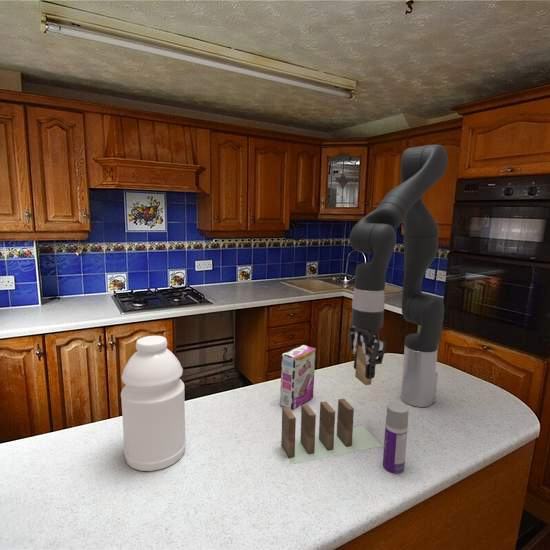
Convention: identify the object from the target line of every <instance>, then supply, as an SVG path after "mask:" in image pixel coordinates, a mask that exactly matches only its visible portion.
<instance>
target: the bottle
mask: <svg viewBox="0 0 550 550" xmlns="http://www.w3.org/2000/svg"><path fill="white" fill-rule="evenodd" d="M135 349H136V351H135V352H133V354H132V356H130V358H129V359H128V360H127V363H126V365H125V366H124V369H123V370H122V371H123V372H122V375H121V381H122V383H123V384H124V385H125V386H123V388H122V389H121V392H120V399H121V401H120V402H121V413H122V431H123V433H122V434H123V446H124V447H123V448H124V449H123V453H124V458H125V461H126V464H127V465H128V466H129V467H130V468H132V469H134V470H137V471H141V472H142V471H143V472H144V471H145V472H153V471H158V470H162V469H165V468H168V467H169V466H172V465H174V464H175V463H176V462H178V461H179V460H181V458H182V457H183V455H184V454H185V452H186V442H187V439H186V411H185V410H186V408H185V389H186V388H185V383H184V381H182V379H181V377H182V376H183V370H184V368H183V367H182V365H181V362H180V361H179V359H178V358H177V356H175V354H174V353H173V352H172V351H171V350H170V349H168V339H167V338H166V337H165V336H163V335H147V336H142V337H140V338H138V339H137V341H136V342H135Z"/></svg>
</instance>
